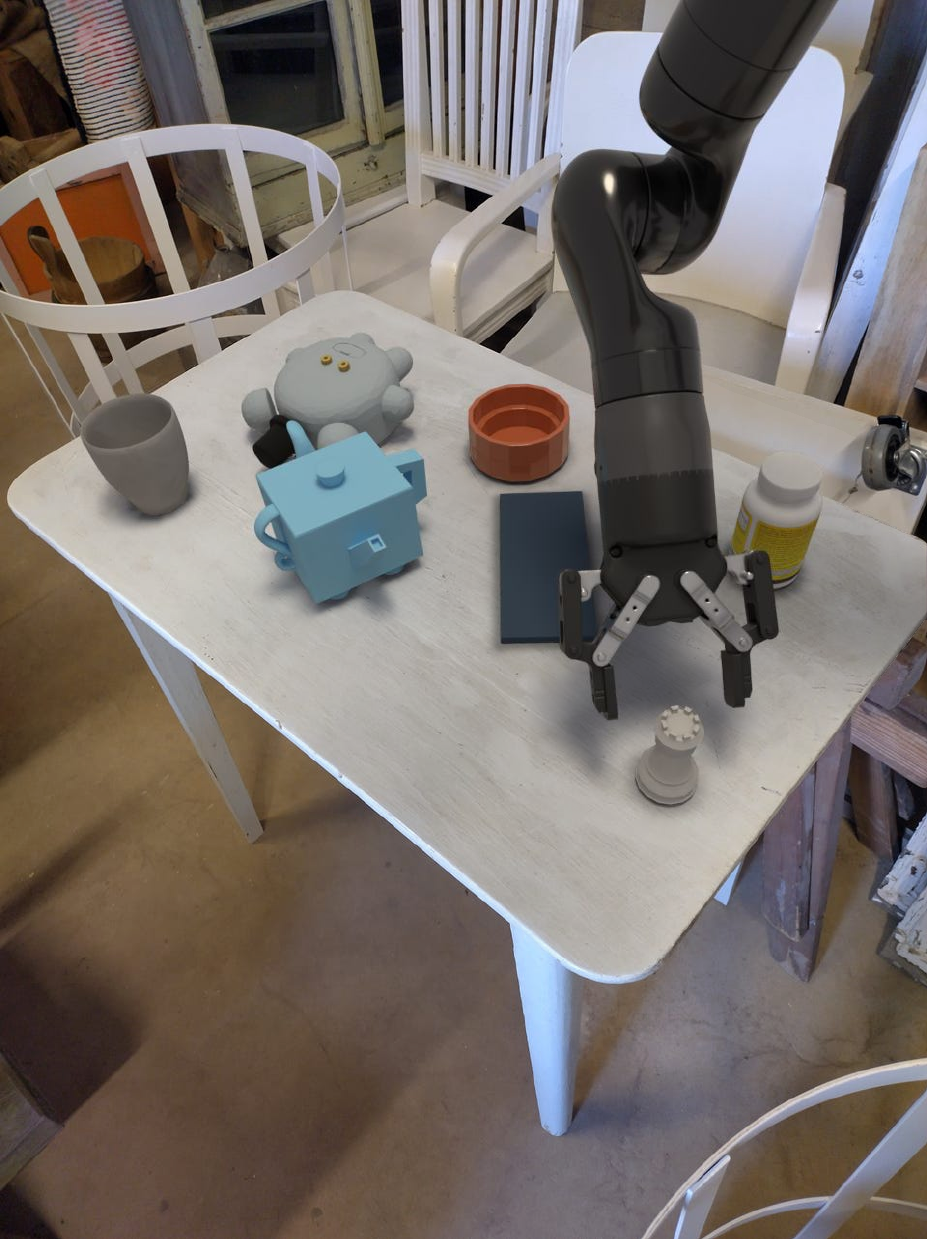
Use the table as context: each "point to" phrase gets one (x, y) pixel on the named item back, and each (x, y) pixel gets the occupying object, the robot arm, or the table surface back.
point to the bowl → (519, 432)
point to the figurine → (331, 396)
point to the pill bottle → (780, 513)
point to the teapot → (342, 512)
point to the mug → (140, 451)
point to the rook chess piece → (671, 757)
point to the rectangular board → (540, 563)
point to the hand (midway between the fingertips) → (673, 711)
